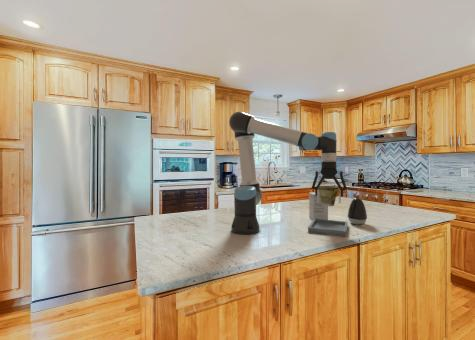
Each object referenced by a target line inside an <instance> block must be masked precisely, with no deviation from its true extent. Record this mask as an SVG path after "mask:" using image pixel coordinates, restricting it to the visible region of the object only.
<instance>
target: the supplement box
mask: <svg viewBox="0 0 475 340" xmlns="http://www.w3.org/2000/svg"><path fill="white" fill-rule="evenodd" d="M308 194H309V195H308V196H309V197H308V198H309V199H308V200H309V205H308V206H309V207H308V210H309V211H308V217H309V219H310V220H311V221H313V220H314V219H323V220H329V206H324V205H322V204H321V197H320V193H319V202H317V196H316V195H315V191H314V192H309V193H308Z"/></svg>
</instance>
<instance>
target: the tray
mask: <svg viewBox="0 0 475 340" xmlns="http://www.w3.org/2000/svg"><path fill="white" fill-rule="evenodd" d="M347 231H348V221H345V220H344V221H342V220H333V219H328V220H323V219H314V220H311V223H310V225H308V227H307V232H308V233H312V234H318V235H319V234H321V235H328V236H337V237H347Z"/></svg>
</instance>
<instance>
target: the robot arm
mask: <svg viewBox="0 0 475 340" xmlns="http://www.w3.org/2000/svg"><path fill="white" fill-rule="evenodd" d="M228 122H229V123H228V124H229V127H230V129H231V130H232V131H233V132H234V139H235V140H236V141H237V144H238V145H237V146H238V155H239V165H240V173H241V175H240V176H241V183H240V184H239V186H237V187H235V188H234V193H233V196H234V198H233V199H234V202H233V203H234V206H233V208H234V216H233V220H232V223H231V229H230V230H231V232H232V233H235V234H239V235H252V234H257V233H259V232H260V231H261V230H260V229H261V228H260V224H259V221H258V217H257V206H258V204H260V202H261V200H262V198H263V193H262V190H261V188H260V187H261V186H260V181H258V180H257V171H256V162H255V153H254V142H253V139H254V138H255V137H256V135H257V136H262V137H264V138H265V137H266V138H268V139H271V140H275V141H279V142H283V143H286V144H289V145H293V146H295V147H298V150H299V151H301V152H307V151H310V152H311V151H321V165H320V166H321V170H315V176H314V179H313V181H312V185H311V189H313V190H315V191H314V192H315V195H316V196H317V202H319V186H322V185H321V184H322V183H323V182H324V181H325V179H332V180H333V181H334V182H335V184H336V185H337V187H338V190H339V191H340V194H339V193H338V194H339V195H338V204H341V202H342V199H341V198H343V196H344V191H347V190H348V189H347V184H346V182H345V179H344V176H343V175H344V174H343V172H344V171H343V170H342V171H341V170H339V171H338V170H337V134H336V132H334V131H324V132H321V136H317V135H315V134H314V133H308V132H305V131H301V130H298V129H294V128H290V127H286V126H284V125H283V126H282V125H279V124H276V123H272V122H268V121H265V120H262V119H257V118H256V117H255V116H254V115H251V114H248V113H246V112H244V111H236V112H234V113H233V114H231V116H230V117H229V121H228ZM320 174H321V176H322V177H321V178H320V180H319V182H318V183H317V181H318V177H319V175H320ZM337 174H338V176H340V180H341V183H342V185H341V183H340V182H339V180H338V178H337V177H336V175H337ZM339 191H338V192H339Z"/></svg>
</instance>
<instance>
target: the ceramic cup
mask: <svg viewBox="0 0 475 340" xmlns="http://www.w3.org/2000/svg"><path fill="white" fill-rule="evenodd" d="M318 190H319V193H320V197H321V204H322V205H324V206H328V207H334V206H335V202H336V198H337V197H339V194H340V191H339V190H340V189H339V187H338V186H333V185H320V186H319V188H318Z"/></svg>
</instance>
